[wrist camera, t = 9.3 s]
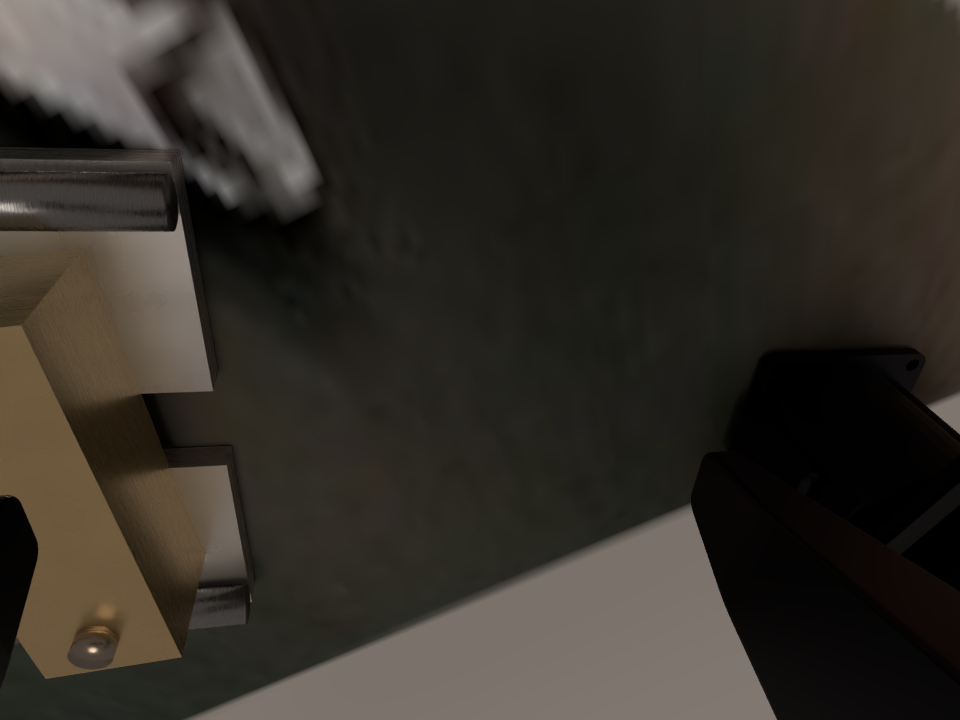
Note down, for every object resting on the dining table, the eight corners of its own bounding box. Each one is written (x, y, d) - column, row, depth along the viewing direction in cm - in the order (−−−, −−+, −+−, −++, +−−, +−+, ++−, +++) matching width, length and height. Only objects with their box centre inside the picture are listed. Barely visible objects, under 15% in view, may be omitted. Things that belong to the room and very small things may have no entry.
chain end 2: (231, 445, 23) (219, 495, 21) (254, 580, 27) (246, 633, 25) (-30, 458, 22) (-69, 513, 20) (34, 598, 25) (7, 656, 23)
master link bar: (83, 248, 17) (9, 339, 14) (205, 556, 24) (177, 675, 20) (-82, 264, 17) (-207, 363, 13) (88, 573, 24) (38, 697, 20)
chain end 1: (179, 150, 17) (157, 180, 15) (218, 372, 21) (204, 419, 19) (-173, 142, 16) (-247, 174, 14) (-64, 381, 20) (-111, 432, 18)
